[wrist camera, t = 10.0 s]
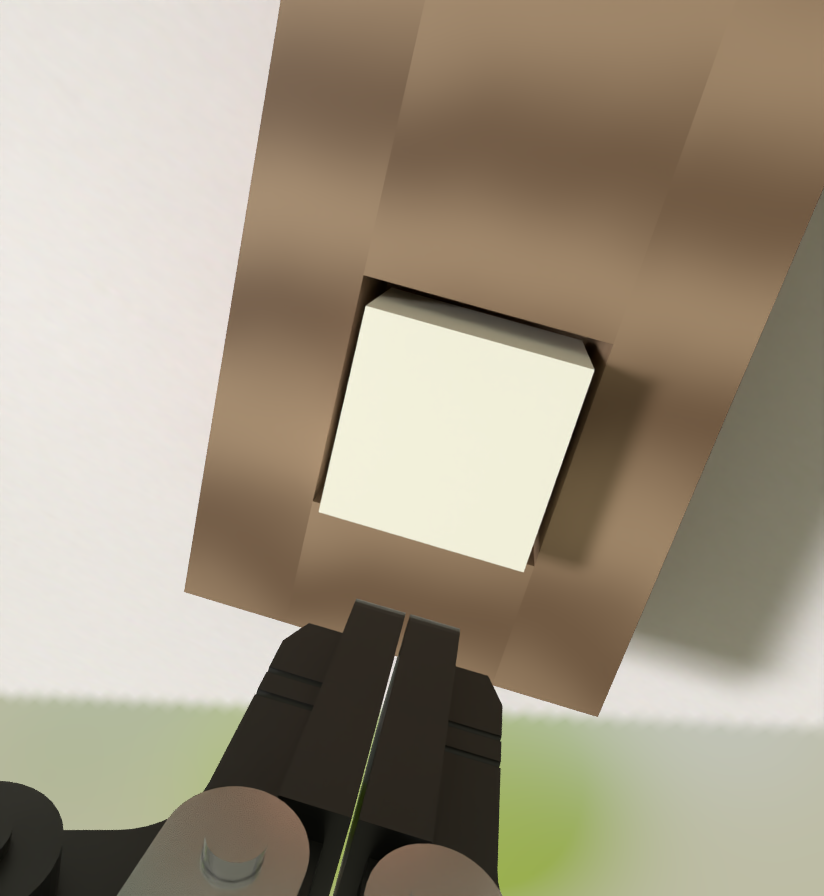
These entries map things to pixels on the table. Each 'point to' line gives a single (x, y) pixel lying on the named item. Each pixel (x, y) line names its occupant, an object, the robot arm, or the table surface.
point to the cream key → (454, 426)
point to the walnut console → (509, 289)
